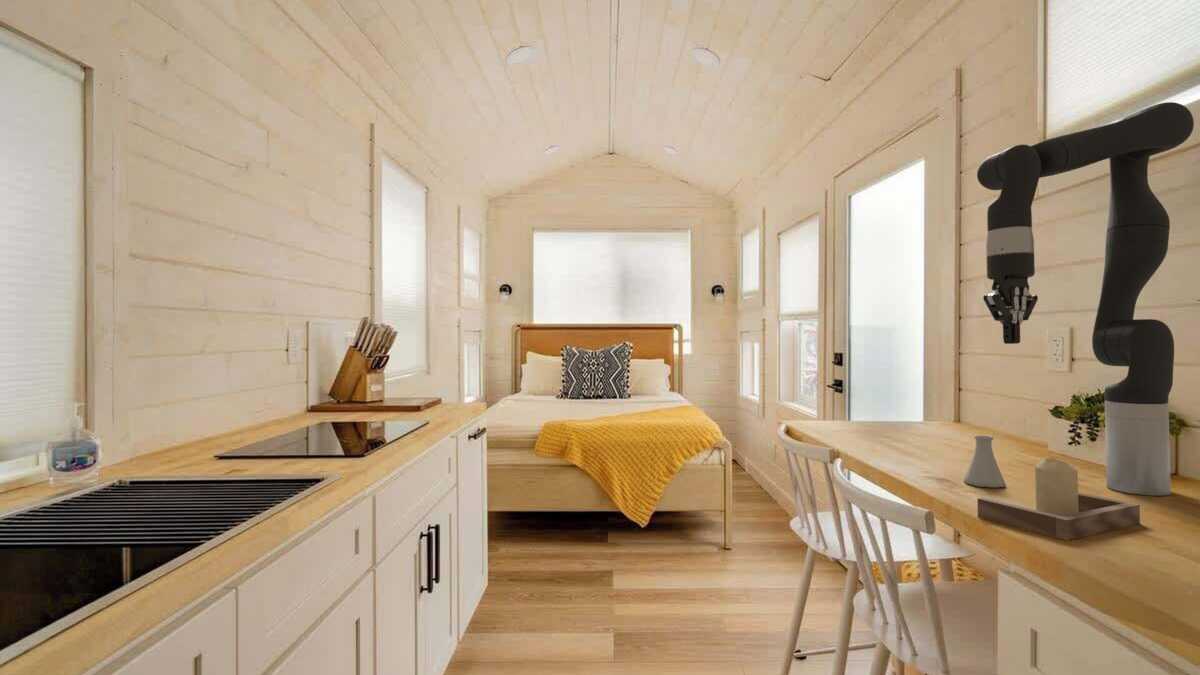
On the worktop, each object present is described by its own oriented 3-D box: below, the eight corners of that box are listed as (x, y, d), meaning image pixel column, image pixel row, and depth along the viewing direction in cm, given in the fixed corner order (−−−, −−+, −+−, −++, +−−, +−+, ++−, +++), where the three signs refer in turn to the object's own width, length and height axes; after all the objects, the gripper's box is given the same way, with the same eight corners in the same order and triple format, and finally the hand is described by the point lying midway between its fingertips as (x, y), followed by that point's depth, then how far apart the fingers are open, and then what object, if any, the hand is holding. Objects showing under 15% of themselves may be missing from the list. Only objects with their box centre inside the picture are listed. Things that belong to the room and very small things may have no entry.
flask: (956, 480, 125) (955, 433, 125) (991, 480, 124) (990, 433, 124) (977, 489, 117) (976, 439, 117) (1014, 488, 117) (1013, 438, 117)
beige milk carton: (1087, 525, 94) (1086, 462, 94) (1051, 525, 94) (1050, 462, 94) (1062, 515, 99) (1060, 455, 99) (1028, 515, 99) (1027, 456, 100)
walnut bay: (1048, 502, 106) (1047, 486, 107) (1139, 523, 94) (1139, 504, 94) (977, 516, 99) (977, 498, 99) (1067, 540, 87) (1067, 520, 87)
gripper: (1007, 248, 107) (1009, 344, 107) (1052, 252, 112) (1054, 343, 112) (967, 254, 114) (969, 344, 113) (1011, 257, 119) (1013, 343, 119)
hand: (1011, 343), depth 113 cm, fingers closed
